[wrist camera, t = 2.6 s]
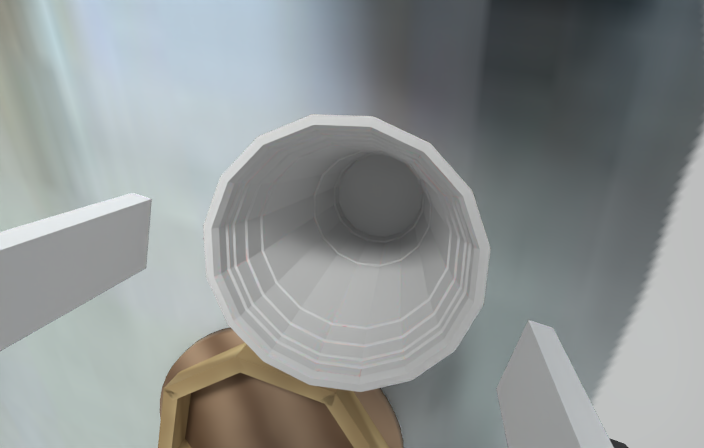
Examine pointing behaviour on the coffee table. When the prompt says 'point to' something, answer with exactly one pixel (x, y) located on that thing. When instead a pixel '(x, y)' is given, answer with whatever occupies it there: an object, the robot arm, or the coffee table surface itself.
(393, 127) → the plastic cup
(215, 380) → the ring base
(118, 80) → the coffee table surface
